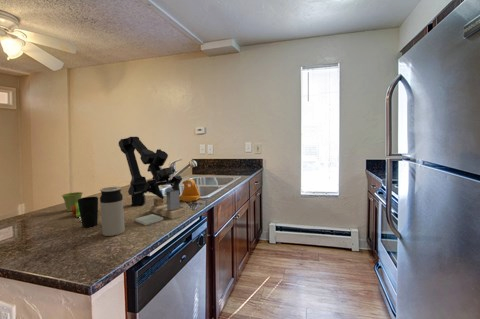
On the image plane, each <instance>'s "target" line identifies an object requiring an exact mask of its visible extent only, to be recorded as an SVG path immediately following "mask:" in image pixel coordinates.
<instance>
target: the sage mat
mask: <svg viewBox="0 0 480 319" xmlns="http://www.w3.org/2000/svg"><path fill="white" fill-rule="evenodd" d="M163 220H164V216H163V217H162V216H161V215H158V214H155V213H154V214H153V213H152V214H147V215H144V216H140V217H137V218H134V222H137V223H139V224H142V225H143V226H146V225H147V226H148V225H149V224H154V223H157V222H160V221H163Z"/></svg>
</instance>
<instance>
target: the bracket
mask: <svg viewBox="0 0 480 319" xmlns="http://www.w3.org/2000/svg"><path fill="white" fill-rule="evenodd" d="M200 198H201V194H200V192H199V189H198V186H197V185H196V181H195V180H194V179H192V178H190V179H188V180H185V181H184V183H183V190H182V192H181V194H180V195H179V201H183V202H193V201H198V200H199V199H200Z"/></svg>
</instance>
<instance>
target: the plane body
mask: <svg viewBox="0 0 480 319" xmlns="http://www.w3.org/2000/svg"><path fill="white" fill-rule="evenodd" d="M185 211H186V209H185V208H182V207H180V209H177V210H173V211H169V210H167V203H164V198H163V199H161V198H160V197H158V196H157V197H153V204H151V205H149V212H150V213H152V214H153V213H154V214H155V215H158V216H161V217H162V216H163V217H166V218H169V219H171V220H172V219H173V220H174V219H177V218H179V217H180V218H181V217H184V216H186V212H185Z"/></svg>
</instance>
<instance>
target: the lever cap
mask: <svg viewBox="0 0 480 319" xmlns="http://www.w3.org/2000/svg"><path fill="white" fill-rule="evenodd" d="M179 190H180V189H179ZM179 190H173V189H172V190H171V189H170V190H166V191H165V192H166V193H165V194H166V204H167V210H169V211H173V210H177V209H180V208H181V206H180V200H179V196H180V195H179Z"/></svg>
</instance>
